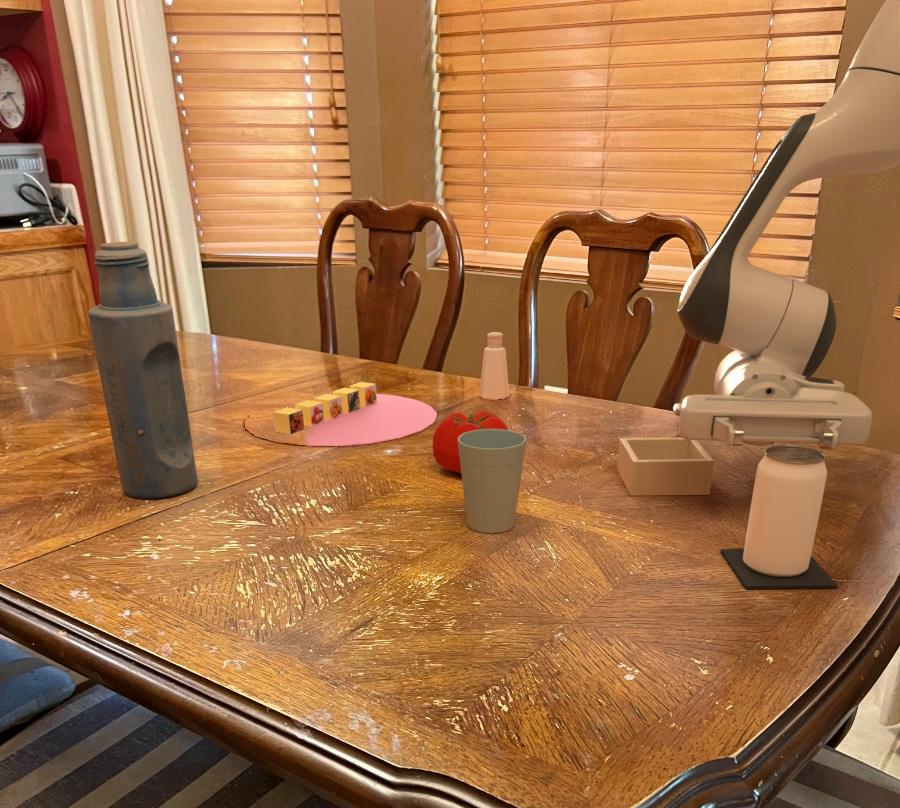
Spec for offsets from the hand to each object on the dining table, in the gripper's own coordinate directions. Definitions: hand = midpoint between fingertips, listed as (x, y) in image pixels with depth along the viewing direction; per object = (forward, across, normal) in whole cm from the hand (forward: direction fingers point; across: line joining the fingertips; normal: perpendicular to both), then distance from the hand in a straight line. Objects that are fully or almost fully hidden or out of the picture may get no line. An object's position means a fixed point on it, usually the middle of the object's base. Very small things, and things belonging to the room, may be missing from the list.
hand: (782, 440), depth 90 cm
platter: (-44, -61, +12) cm, 76 cm away
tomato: (-20, -36, +12) cm, 43 cm away
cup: (-1, -31, +12) cm, 33 cm away
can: (+7, 0, +11) cm, 13 cm away
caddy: (-18, -10, +12) cm, 24 cm away
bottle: (-8, -76, +12) cm, 77 cm away
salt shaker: (-61, -37, +12) cm, 72 cm away
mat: (+7, 0, +12) cm, 14 cm away
